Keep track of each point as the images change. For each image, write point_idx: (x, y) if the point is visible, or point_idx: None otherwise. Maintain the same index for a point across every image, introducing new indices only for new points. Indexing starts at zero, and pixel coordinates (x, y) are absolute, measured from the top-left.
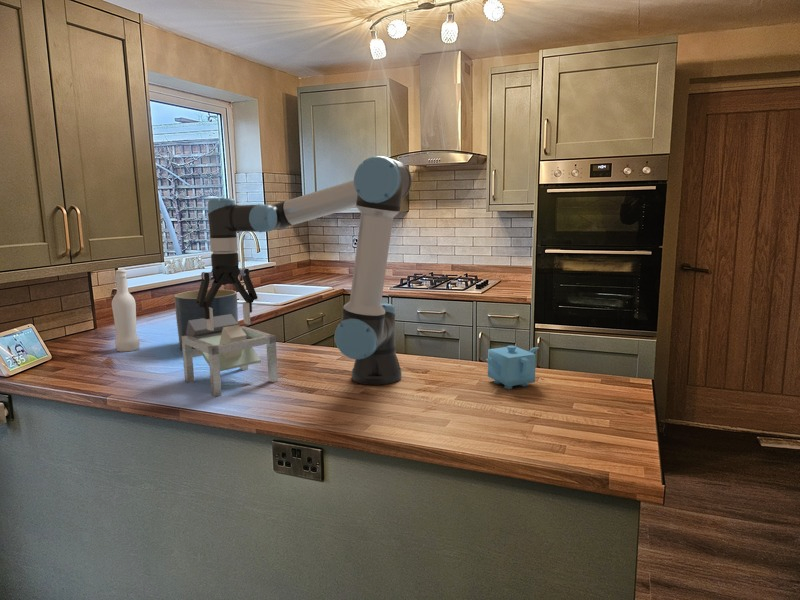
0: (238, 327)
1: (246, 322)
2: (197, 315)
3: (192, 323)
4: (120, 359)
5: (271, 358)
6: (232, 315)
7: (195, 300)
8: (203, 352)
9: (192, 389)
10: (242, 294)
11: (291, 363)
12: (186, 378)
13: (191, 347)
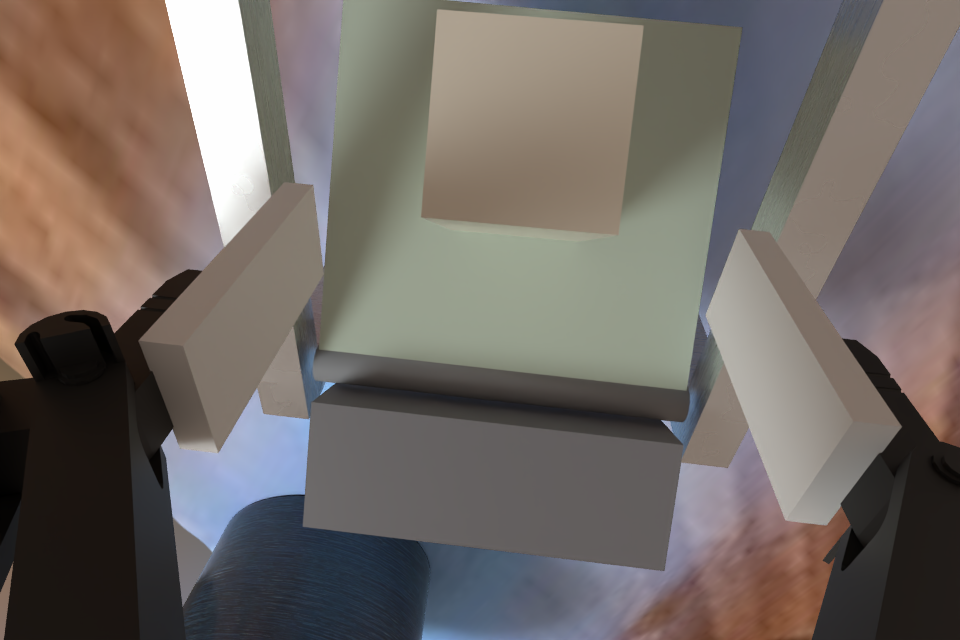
0: (451, 172)
1: (311, 228)
2: None
3: (653, 529)
4: (616, 614)
5: None
6: (199, 632)
7: None
8: (705, 238)
9: (744, 147)
10: (154, 533)
11: (111, 128)
12: None
13: None
